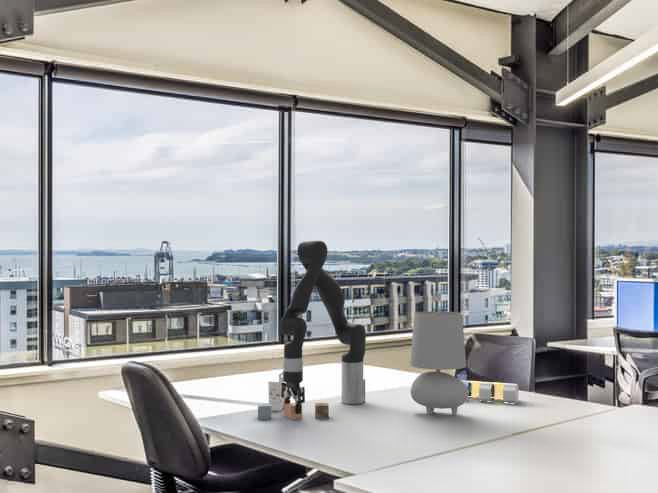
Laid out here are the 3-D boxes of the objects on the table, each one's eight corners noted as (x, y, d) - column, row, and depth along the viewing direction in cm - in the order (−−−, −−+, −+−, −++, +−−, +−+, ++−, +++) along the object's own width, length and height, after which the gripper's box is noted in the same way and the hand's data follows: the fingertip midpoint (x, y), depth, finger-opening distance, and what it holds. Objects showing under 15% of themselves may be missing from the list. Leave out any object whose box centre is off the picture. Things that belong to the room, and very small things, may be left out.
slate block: (271, 416, 281) (271, 403, 281) (271, 419, 276) (271, 406, 276) (258, 416, 280) (258, 403, 280) (257, 419, 275) (257, 406, 275)
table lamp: (475, 411, 289) (474, 310, 289) (461, 422, 269) (461, 315, 270) (419, 406, 298) (419, 309, 299) (402, 417, 279) (402, 312, 279)
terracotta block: (295, 415, 282) (295, 402, 282) (302, 418, 278) (302, 404, 278) (284, 417, 279) (284, 404, 279) (290, 419, 275) (290, 406, 275)
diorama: (455, 401, 311) (455, 370, 311) (460, 396, 320) (460, 367, 320) (515, 405, 301) (515, 374, 302) (518, 400, 311) (518, 370, 311)
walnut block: (327, 415, 281) (327, 402, 282) (328, 418, 276) (328, 405, 277) (315, 415, 281) (315, 403, 281) (315, 418, 276) (315, 405, 276)
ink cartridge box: (273, 406, 299) (273, 370, 299) (285, 406, 298) (285, 370, 298) (267, 410, 290) (267, 373, 290) (279, 411, 289) (279, 374, 289)
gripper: (310, 371, 275) (310, 414, 274) (292, 366, 287) (292, 407, 286) (293, 372, 271) (293, 416, 270) (275, 367, 283) (275, 409, 282)
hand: (292, 411), depth 278 cm, fingers open, 8 cm apart
